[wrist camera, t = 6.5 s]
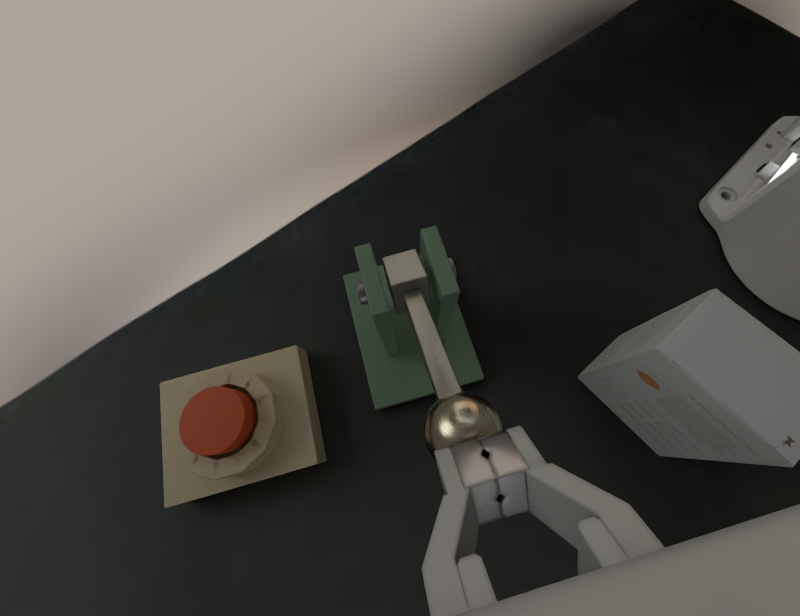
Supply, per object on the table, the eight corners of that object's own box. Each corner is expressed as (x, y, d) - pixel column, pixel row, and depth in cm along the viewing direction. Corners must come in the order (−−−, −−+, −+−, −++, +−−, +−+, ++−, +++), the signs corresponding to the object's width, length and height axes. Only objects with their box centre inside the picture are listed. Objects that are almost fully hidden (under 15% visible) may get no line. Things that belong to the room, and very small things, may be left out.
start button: (251, 381, 26) (240, 378, 24) (259, 444, 24) (248, 444, 23) (192, 398, 26) (177, 396, 24) (196, 462, 24) (180, 464, 22)
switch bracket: (481, 380, 29) (522, 347, 18) (376, 410, 29) (351, 396, 18) (438, 255, 33) (448, 166, 22) (345, 280, 33) (308, 202, 22)
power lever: (515, 474, 14) (521, 440, 12) (440, 497, 14) (433, 467, 12) (427, 280, 24) (422, 240, 21) (381, 292, 24) (371, 254, 21)
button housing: (307, 352, 31) (289, 339, 26) (327, 461, 28) (311, 466, 23) (181, 387, 30) (142, 379, 26) (187, 501, 27) (145, 514, 23)
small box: (701, 408, 28) (861, 394, 18) (656, 458, 27) (799, 472, 17) (618, 333, 30) (718, 283, 20) (573, 376, 29) (655, 346, 19)
